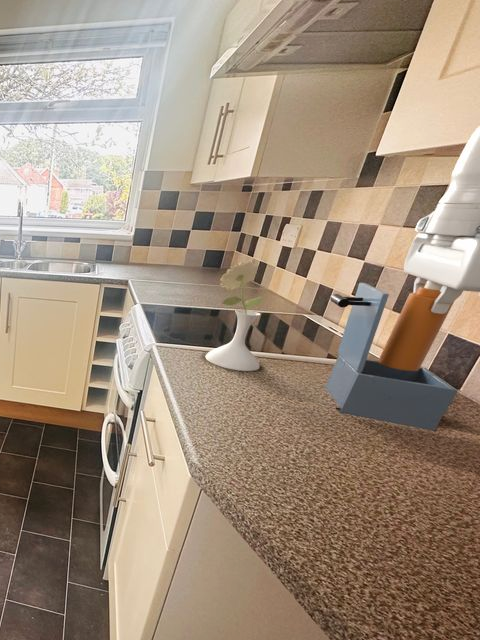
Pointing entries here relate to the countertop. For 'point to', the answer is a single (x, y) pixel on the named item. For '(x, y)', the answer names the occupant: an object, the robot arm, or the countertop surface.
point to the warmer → (390, 394)
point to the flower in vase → (236, 351)
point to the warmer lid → (360, 323)
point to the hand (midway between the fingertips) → (426, 308)
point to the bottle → (414, 330)
